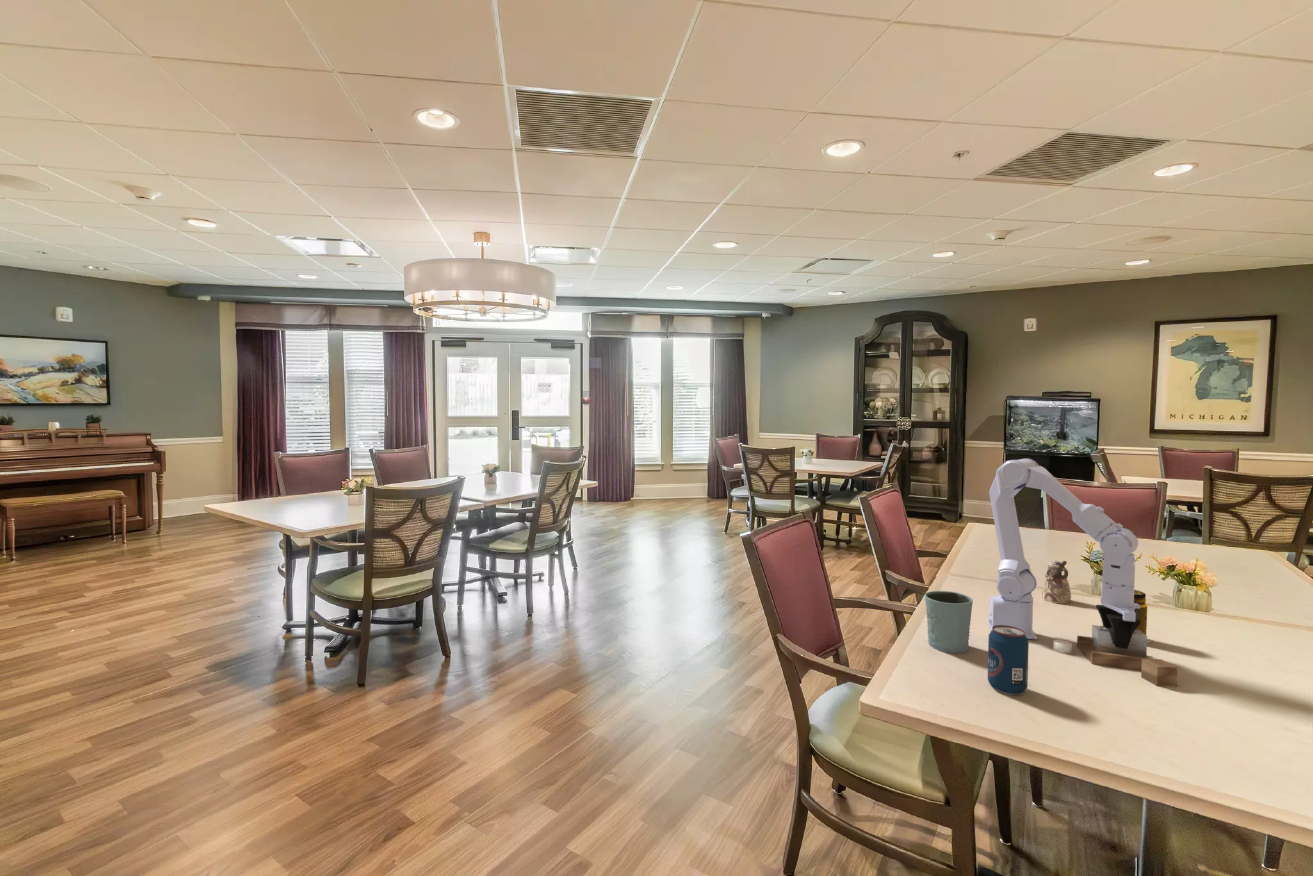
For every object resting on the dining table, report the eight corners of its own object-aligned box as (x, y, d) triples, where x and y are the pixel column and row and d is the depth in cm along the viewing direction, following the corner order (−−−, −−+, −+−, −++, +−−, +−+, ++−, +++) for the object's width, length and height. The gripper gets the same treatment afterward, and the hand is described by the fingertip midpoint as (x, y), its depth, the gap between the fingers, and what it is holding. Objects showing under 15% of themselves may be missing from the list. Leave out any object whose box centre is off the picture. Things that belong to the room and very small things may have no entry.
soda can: (980, 680, 123) (982, 623, 122) (1014, 681, 123) (1016, 624, 122) (999, 696, 116) (1000, 636, 115) (1035, 697, 116) (1036, 636, 115)
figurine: (1037, 596, 181) (1038, 557, 180) (1062, 597, 180) (1063, 558, 179) (1049, 603, 173) (1050, 563, 173) (1075, 604, 172) (1077, 564, 172)
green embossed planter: (976, 646, 141) (978, 596, 141) (964, 658, 134) (965, 606, 133) (932, 635, 148) (933, 588, 148) (917, 646, 141) (918, 597, 140)
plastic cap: (1055, 652, 138) (1055, 644, 138) (1051, 647, 141) (1051, 639, 141) (1074, 655, 136) (1074, 646, 136) (1069, 649, 140) (1069, 641, 140)
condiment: (1152, 641, 145) (1154, 592, 144) (1140, 648, 140) (1141, 598, 140) (1117, 632, 151) (1118, 585, 150) (1103, 638, 146) (1105, 590, 146)
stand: (1092, 663, 131) (1092, 652, 131) (1077, 645, 141) (1077, 635, 141) (1159, 672, 127) (1159, 660, 127) (1138, 653, 137) (1138, 642, 137)
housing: (1146, 660, 130) (1147, 634, 130) (1097, 654, 134) (1098, 629, 133) (1138, 653, 134) (1139, 628, 134) (1091, 648, 137) (1092, 623, 137)
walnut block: (1156, 686, 121) (1157, 667, 120) (1141, 677, 125) (1141, 659, 124) (1176, 686, 120) (1177, 667, 120) (1160, 678, 124) (1161, 659, 124)
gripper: (1153, 594, 125) (1151, 657, 126) (1127, 576, 139) (1125, 634, 139) (1113, 590, 128) (1111, 652, 128) (1091, 574, 141) (1089, 630, 142)
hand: (1116, 642), depth 134 cm, fingers open, 5 cm apart
